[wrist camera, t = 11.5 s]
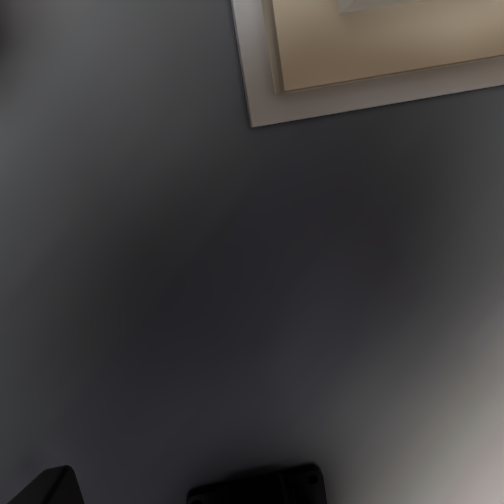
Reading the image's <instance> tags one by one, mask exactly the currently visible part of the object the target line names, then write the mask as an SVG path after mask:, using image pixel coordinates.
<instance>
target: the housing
mask: <svg viewBox="0 0 504 504" xmlns="http://www.w3.org/2000/svg"><path fill="white" fill-rule="evenodd" d="M417 1H423V0H337V3H338V13H339V14H340V13H346V12H353V11H359V10H366V9H372V8H378V7H385V6H391V5H398V4H404V3H411V2H417Z"/></svg>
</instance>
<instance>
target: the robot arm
mask: <svg viewBox="0 0 504 504" xmlns="http://www.w3.org/2000/svg"><path fill="white" fill-rule="evenodd" d="M311 475H315V477H313V478H309V476H311ZM194 500H200V502H194ZM7 504H84V500H83V497H82V494H81V491H80V488H79V485H78V482H77V478H76V475H75V472H74V470H73V469H72V467H70V466H68V465H64V466H60V467H55V468H50V469H46V470H44V471H43V472H42V473H40V474H39V475H38V476H37V477H36V478H35V479H34V480H33V481H32V482H31V483H29V484H28V485H27V486H26V487H25V488H24V489H23V490H22V491H21V492H20V493H18V494H17V495H16V496H15V497H14V498H13V499H12V500H11V501H10V502H9V503H7ZM186 504H327V500H326V493H325V486H324V480H323V475H322V473H321V470H320V468H319V467H318V466H316V465H307V466H303V467H298V468H293V469H288V470H284V471H279V472H274V473H269V474H265V475H260V476H255V477H250V478H246V479H241V480H236V481H231V482H227V483H222V484H217V485H212V486H208V487H203V488H198V489H194V490H192V491H190V492H189V493H188V495H187V501H186Z"/></svg>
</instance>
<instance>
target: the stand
mask: <svg viewBox="0 0 504 504" xmlns="http://www.w3.org/2000/svg"><path fill="white" fill-rule="evenodd" d="M230 2H231V8H232V14H233V21H234V27H235V33H236V39H237V46H238V52H239V58H240V65H241V71H242V77H243V84H244V90H245V96H246V103H247V109H248V115H249V122H250V127H258V126H264V125H270V124H276V123H282V122H288V121H293V120H299V119H305V118H311V117H317V116H323V115H329V114H334V113H340V112H346V111H352V110H358V109H364V108H370V107H375V106H381V105H387V104H393V103H399V102H405V101H411V100H416V99H422V98H428V97H434V96H440V95H446V94H452V93H457V92H463V91H469V90H475V89H481V88H487V87H493V86H498V85H504V0H423V1H417V2H411V3H404V4H398V5H391V6H385V7H378V8H372V9H366V10H359V11H353V12H346V13H340V14H339V13H338V3H337V0H230Z"/></svg>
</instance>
